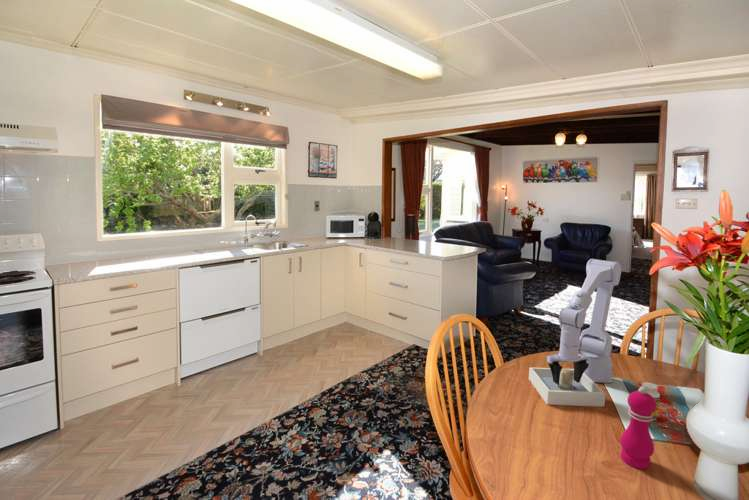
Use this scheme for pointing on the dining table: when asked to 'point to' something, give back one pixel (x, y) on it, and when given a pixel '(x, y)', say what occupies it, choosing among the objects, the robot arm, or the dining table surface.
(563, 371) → the peg
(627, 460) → the pepper mill
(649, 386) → the supplement bottle
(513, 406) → the dining table surface
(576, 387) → the bore plate
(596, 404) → the tray
